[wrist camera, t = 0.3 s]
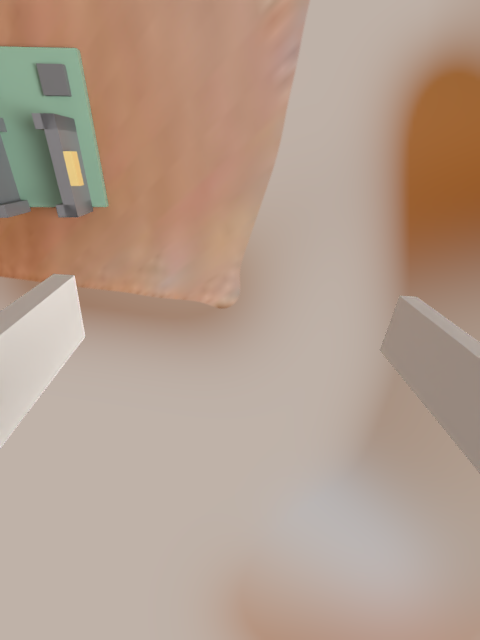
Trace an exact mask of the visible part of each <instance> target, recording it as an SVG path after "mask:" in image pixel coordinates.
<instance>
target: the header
mask: <svg viewBox="0 0 480 640" xmlns="http://www.w3.org/2000/svg"><path fill="white" fill-rule="evenodd" d="M31 114H32V118H33V121H34V125H35V129H38V130H44V131H45V135H46V139H47V143H48V147H49V151H50V155H51V159H52V163H53V167H54V171H55V175H56V179H57V183H58V187H59V191H60V195H61V199H62V203H60V204H57V205H56V209H57V213H58V217H80V216H82V215H85V214H87V213H90V212H92V211H93V207H92V202H91V198H90V193H89V188H88V183H87V179H86V174H85V169H84V164H83V159H82V155H81V150H80V145H79V140H78V136H77V131H76V126H75V121H74V119H72V118H69V117H65V116H61V115H58V114H54V113H31ZM0 132H7V130H6V126H5V123H4V120H3V118H0ZM30 211H31V209H30V206H29V203H28V200H21V199H20V196H19V193H18V189H17V186H16V183H15V180H14V177H13V173H12V170H11V167H10V164H9V160H8V157H7V154H6V151H5V148H4V144H3V141H2V138H1V135H0V218H8V217H12V216H16V215H19V214H23V213H27V212H30Z"/></svg>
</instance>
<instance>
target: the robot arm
mask: <svg viewBox="0 0 480 640" xmlns="http://www.w3.org/2000/svg"><path fill="white" fill-rule="evenodd" d="M84 338H85V333H84V327H83V321H82V315H81V309H80V304H79V298H78V293H77V287H76V281H75V275H62V274H53V275H51V276H50V277H49V278H47V279H46V280H44V281H43V282H41V283H40V284H39V285H37V286H36V287H34V288H33V289H32V290H30V291H29V292H27V293H26V294H24V295H23V296H21V297H20V298H19V299H17V300H16V301H14V302H13V303H11V304H10V305H9V306H7V307H6V308H4V309H3V310H1V311H0V448H1V447H2V446H3V444H4V443H5V442H6V440H7V439H8V438H9V436H10V435H11V434H12V433H13V431H14V430H15V429H16V427H17V426H18V425H19V423H20V422H21V421H22V419H23V418H24V417H25V415H26V414H27V413H28V411H29V410H30V409H31V408H32V406H33V405H34V404H35V402H36V401H37V399H38V398H39V397H40V396H41V394H42V393H43V392H44V390H45V389H46V388H47V386H48V385H49V384H50V383H51V381H52V380H53V379H54V377H55V376H56V375H57V373H58V372H59V371H60V369H61V368H62V367H63V365H64V364H65V363H66V361H67V360H68V359H69V358H70V356H71V355H72V354H73V352H74V351H75V350H76V348H77V347H78V346H79V344H80V343H81V342H82V340H83V339H84ZM380 351H381V352H382V354H383V355H384V356H385V357H386V359H387V360H388V361H389V362H390V364H391V365H392V366H393V367H394V368H395V370H396V371H397V372H398V373H399V375H400V376H401V377H402V378H403V379H404V381H405V382H406V383H407V384H408V386H409V387H410V388H411V389H412V391H413V392H414V393H415V394H416V395H417V397H418V398H419V399H420V400H421V402H422V403H423V404H424V405H425V407H426V408H427V409H428V410H429V411H430V413H431V414H432V415H433V416H434V417H435V419H436V420H437V421H438V423H439V424H440V425H441V426H442V427H443V429H444V430H445V431H446V432H447V434H448V435H449V436H450V437H451V439H452V440H453V441H454V442H455V443H456V444H457V446H458V447H459V448H460V450H461V451H462V452H463V453H464V455H465V456H466V457H467V458H468V459H469V461H470V462H471V463H472V464H473V466H474V467H475V468H476V469H477V471H478V472H479V473H480V342H479V341H477V340H476V339H474V338H473V337H472V336H470V335H468V333H466V332H465V331H463V330H462V329H461V328H459V327H458V326H456V325H455V324H454V323H452V322H451V321H450V320H448V319H447V318H445V317H444V316H443V315H441V314H440V313H438V312H437V311H436V310H434V309H433V308H431V307H430V306H429V305H427V304H426V303H424V302H423V301H422V300H420V299H419V298H418V297H411V296H399V299H398V302H397V304H396V307H395V310H394V313H393V316H392V318H391V321H390V324H389V326H388V329H387V332H386V335H385V338H384V340H383V343H382V346H381V349H380Z"/></svg>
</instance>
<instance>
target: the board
mask: <svg viewBox="0 0 480 640" xmlns="http://www.w3.org/2000/svg"><path fill="white" fill-rule="evenodd" d="M31 113H54V114H58V115H61V116H65V117H69V118H72V119H74V121H75V126H76V131H77V136H78V140H79V145H80V150H81V155H82V159H83V164H84V169H85V174H86V179H87V183H88V188H89V193H90V198H91V202H92V207H107V206H108V200H107V195H106V190H105V184H104V179H103V173H102V168H101V163H100V157H99V152H98V147H97V141H96V136H95V130H94V125H93V120H92V114H91V109H90V104H89V98H88V93H87V87H86V82H85V77H84V71H83V66H82V61H81V55H80V51H79V50H78V49H77V48H46V47H0V118H3V120H4V123H5V126H6V130H7V132H0V135H1V138H2V141H3V144H4V148H5V151H6V154H7V157H8V160H9V164H10V167H11V170H12V173H13V177H14V180H15V183H16V186H17V189H18V193H19V196H20V199H21V200H28V203H29V206H30V207H56V205H57V204H60V203H62V199H61V195H60V191H59V187H58V183H57V179H56V175H55V171H54V167H53V163H52V159H51V155H50V151H49V147H48V143H47V139H46V135H45V131H44V130H38V129H35V125H34V121H33V118H32V114H31Z"/></svg>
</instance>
